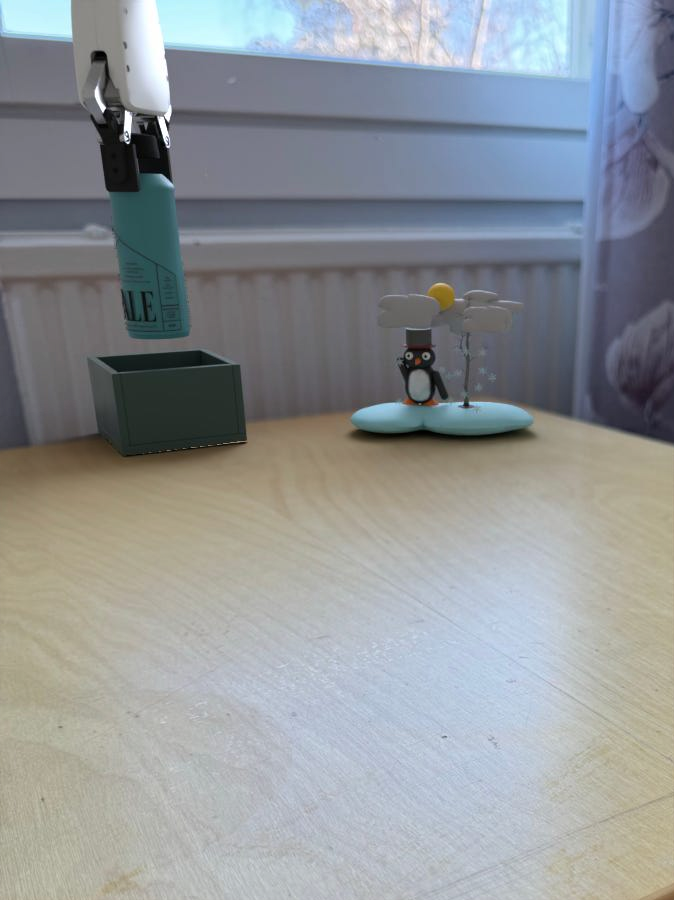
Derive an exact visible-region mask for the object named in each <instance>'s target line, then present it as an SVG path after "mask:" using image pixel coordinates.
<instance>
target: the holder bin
mask: <svg viewBox="0 0 674 900" xmlns="http://www.w3.org/2000/svg"><path fill="white" fill-rule="evenodd" d="M86 361H87V368H88V374H89V381H90V386H91V392H92V401H93V407H94V412H95V419H96V426H97V432H98V434H99V435H100V436H102V437H103V438H104V439H105V440H106V439H107V440H108V441H110V443H111V444H112V445H113V446H114V447H115V448H116V449H117V450H118V451H119V452H120V453H121V454H122V455H123V456H125V457H127V456H126V455H134V456H137V455H136V454H143V453H149V452H159V451H167V450H175V449H183V448H191V447H200V446H208V445H217V444H223V443H230V442H237V441H246V440H247V441H248V434H247V424H246V414H245V402H244V391H243V381H242V371H241V364H240V363H238V362H237V361H236V362H235V361H234V360H232V359H229V358H227V357H225V356H222V355H220V354H218V353H215V352H213V351H211V350H208V349H207V348H196V349H193V348H192V349H181V350H167V351H165V350H163V351H150V352H135V353H123V354H121V353H120V354H109V355H107V354H106V355H94V356H93V355H92V356H87V357H86ZM107 440H106V441H107ZM108 441H107V442H108ZM110 443H109V444H110ZM111 444H110V445H111ZM112 445H111V446H112ZM113 446H112V447H113ZM114 447H113V448H114ZM115 448H114V449H115ZM116 449H115V450H116ZM117 450H116V451H117ZM118 451H117V452H118ZM119 452H118V453H119ZM120 453H119V454H120ZM121 454H120V455H121ZM122 455H121V456H122ZM143 455H144V454H143ZM123 456H122V457H123Z"/></svg>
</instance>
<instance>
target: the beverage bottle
mask: <svg viewBox="0 0 674 900" xmlns="http://www.w3.org/2000/svg"><path fill="white" fill-rule="evenodd" d="M129 144H135V148H136V156H137V158H143V159H151V158H160V155H159V151H158V146H157V141H156V137H155V136H152V135H147V134H141V133H136V132H131V135H130V143H129ZM139 180H140V191H139V192H108V195H109V196H108V197H109V204H110V211H111V219H110V220H112V224H111V233H112V235H113V237H112V238H113V244H114V250H115V251H116V252H114V253H115V255H116V259H117V264H118V270H119V271H118V272H119V274H118V273H117V275H118V277H119V278H118V280H119V281H120V286H121V288H120V294H121V296H120V297H121V304H122V305H121V306H122V309H123V312H122V314H123V318H124V320H125V322H124V325H125V326H126V327H125V330H127V333H128V334H127V335H128V336H129V338H131V339H135V340H172V339H174V340H175V339H182V338H186V337H187V338H188V337H189V336H190V335H191V334H190V333H191V328H192V327H193V326H192V325H191V324H192V321H191V318H192V317H191V311H190V308H189V307H190V305H189V303H190V301H189V300H188V299H189V298H188V297H189V295H188V294H187V289H188V287H187V282H186V279H185V277H186V273H185V271H184V268H185V264H184V262H183V259H182V250H181V243H180V242H181V241H180V232H179V225H178V216H177V215H178V214H177V208H176V207H177V204H176V197H175V196H176V195H175V185H174V183H173V184H172V183H171V182H170V181H169V180H168V179H167V178H166V177H165V176H164V175H162V174H145V173H139ZM185 269H186V268H185Z"/></svg>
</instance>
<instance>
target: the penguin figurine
mask: <svg viewBox="0 0 674 900" xmlns="http://www.w3.org/2000/svg"><path fill="white" fill-rule="evenodd" d="M377 307H378V308H379V309H383V310H382V311H380V312H379V313H378V314H377V316H376V317H377V319H376V320H377V321H376V323H377V324H378V326H379V327H381V328H386V329H400V328H403V327H406V328H405V343H404V344H401V347H402V348H406V349H405V351H404V352H403V355H402V356H398V357H397V358H396V359H395V362H396V366H398V369H399V371H400V374H401V376H402V378H403V380H404V389H405V394H406V396H407V398H405V399H404V400H403V398H401V399H400V398H398V399H395V401H396V402H385V403H379V404H375V405H370V406H367V407H363V408H361V409H359V410H356V411H355V412H354V413H353V414H352V415H351V417H350V423H352V425H353V426H354V427H355V428H358V429H360V430H362V431H365V432H372V433H378V434H403V433H411V432H416V431H429V432H433V433H437V434H443V435H449V436H450V435H452V436H483V435H484V436H485V435H495V434H502V433H506V432H511V431H515V430H522V429H526V428H528V427H531V426H533V424H534V422H535V420H534V418H533V416H532V415H531V414H530V413H529V412H527V411H526V410H524V409H523V408H521V407H519V406H516V405H512V404H507V403H502V402H494V401H493V402H492V401H469V382H470V381H472V379H470V380H469V378H470V364H471V361H472V360H474V359H475V357H472V358H471V352H470V349H471V348H470V347H471V346H470V343H471V342H473V341H471V340H470V339H469V337H477V336H479V335H480V333H485V334H507V333H510V332H511V331H512V330H513V329H512V328H513V326H514V320H513V315H518V314H519V313H522V312H523V311H524V309H525V303H523V302H519V301H513V300H512V301H511V300H500V299H499V294H497V293H495V292H492V291H485V290H479V289H477V290H475V289H474V290H470V291H467V292H465V293H464V294H463V296H462V298H456V295H455V291H454V289H453V287H452V286H450V284H446V283H444V282H442V283H441V282H438V283H436V284H433V285H432V286H431V287H430V288H429V289H428V291H427V295H424V294H417V293H409V294H407V295H403V294H392V295H391V294H390V295H384V296H382V297H381V298H380V299H379V300H378V305H377ZM445 326H449V332H450V333H452V334H454V335H456V336H459V337H461V339H460V338H458V340H459V342H460V345H458V344H457V343H455V344H454V346H451V352H455V354H458V351H459V352H462V353H461V356H462V360H465V361H466V363H465V364H466V365H465V370H464V369H463V368H461V367H460V369H461V370H459V368H458V367H457V368H456V370H455V372H454V374H453V373H450V372H447V370H445V369H446V366H444V367H442V368H440V367H439V366H438V367H437V369H438V370H437V369H434V368H433V365H434V364H435V362H436V353H435V351H434V350H433V349H432V348H436V347H437V345H436V344H434V343H432V342H433V341H432V340H433V339H432V338H433V337H432V329H434V328H439V327H441V328H443V327H445ZM464 337H466V339H465V348H464V349H463V340H464ZM454 339H457V337H454ZM469 340H470V342H469ZM486 352H488V349H485V348H484V347H482V349H481V350H479V349H478V356H477V358H478V357H480V356H481V355H482V359H484V356H488V354H487V353H486ZM487 369H488V368H487V367H485V369H484V368H478V370H479V371H478V374H482V376H484V375H485V373H486V372H487ZM440 372H441V374H442V375H443V374H444V376H445V377H444V380H447V382H450V381H451V380H453V377H456V378H457V379H459V378H460V376H463V374H462V372H463V373H465V376H464V385H463V392H462V391H461V394H460V397H462V398H463V401H458V402H457V401H455V400H456V398H452V397H449V393H448V391H447V388H446V386H445V383H444V381H443V378H442V376H441V374H440ZM444 372H447V374H446V373H444ZM452 376H453V377H452ZM496 377H497V374H494V373H493V372H491V373H490V375H489V376H488V379H489V381H491V383H494V380H495V381H496V380H497V378H496ZM483 386H484V385H483V384H481V385H480V384H477V385H474V387H475V389H474V391H477V392H478V393H480V392H481V389H483ZM436 390H437V392H438V394H439V396H440V398H441V400H443V401H447V402H441V403H439V402H437V401H436V400H435V398H434V397H435V395H436Z"/></svg>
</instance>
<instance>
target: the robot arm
mask: <svg viewBox="0 0 674 900" xmlns="http://www.w3.org/2000/svg"><path fill="white" fill-rule="evenodd" d="M156 3H157V2H156V0H70V16H71V17H70V20H71V37H72V48H73V49H72V50H73V59H74V69H75V71H74V72H75V78H76V87H77V94H78V100H79V102H80V104H81V106H82V107H83V108H84V109H85V110H87V111H88V112H89V114H90V116H89V117H90V120H91V122H92V124H93V126H94V127H95V139H96V141H97V143H98V144H99V149H100V156H101V157H100V158H101V164H102V171H103V178H104V187H105V190H106V191H107V192H108V193H109V192H139V191H140V180H139V173H145V174H162V175H164V176H165V177H166V178H167V179H168V180H169V181H170V182H171V183H172V184H173V185H174V182H173V181H174V180H173V171H172V164H171V163H172V161H171V154H170V146H171V139H170V136H169V132H170V129H171V127H170V125H171V124H170V119H171V115H172V105H171V93H170V83H169V81H170V80H169V73H168V65H167V59H166V52H165V45H164V39H163V33H162V27H161V23H160V17H159V12H158V6H157V4H156ZM118 119H119V120H118ZM145 123H147V126H146V125H145ZM132 125H133V127H134V128H133V129H134V131H135V133H141V134H147V135H152V136H155V137H156V141H157V146H158V151H159V155H160V158H151V159H143V158H137V156H136V148H135V144H129V143H130V135H131V133H132Z"/></svg>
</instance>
